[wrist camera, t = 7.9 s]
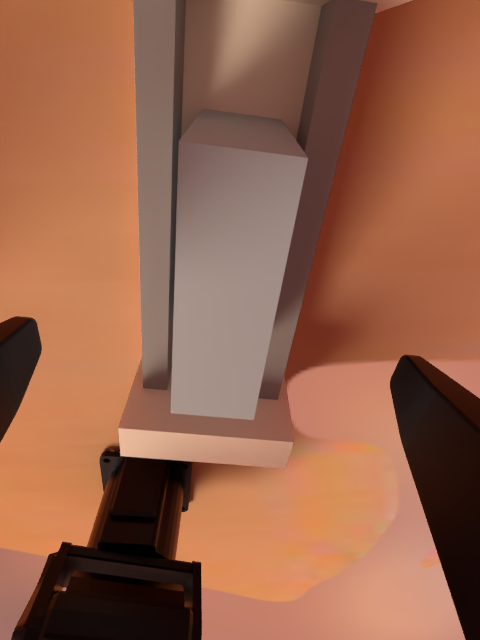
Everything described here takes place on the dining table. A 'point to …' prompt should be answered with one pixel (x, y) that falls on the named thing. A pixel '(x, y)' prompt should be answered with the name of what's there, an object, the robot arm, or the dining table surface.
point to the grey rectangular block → (230, 257)
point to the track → (162, 176)
